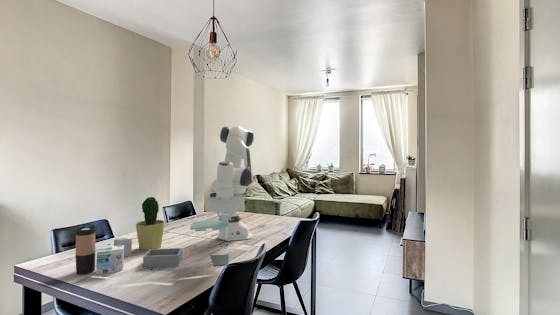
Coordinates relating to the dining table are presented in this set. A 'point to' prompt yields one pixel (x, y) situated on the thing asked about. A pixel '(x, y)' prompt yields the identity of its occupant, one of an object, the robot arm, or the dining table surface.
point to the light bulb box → (110, 259)
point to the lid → (210, 224)
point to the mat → (220, 259)
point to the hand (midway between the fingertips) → (225, 220)
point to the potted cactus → (150, 226)
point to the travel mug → (85, 250)
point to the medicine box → (126, 243)
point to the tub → (162, 257)
